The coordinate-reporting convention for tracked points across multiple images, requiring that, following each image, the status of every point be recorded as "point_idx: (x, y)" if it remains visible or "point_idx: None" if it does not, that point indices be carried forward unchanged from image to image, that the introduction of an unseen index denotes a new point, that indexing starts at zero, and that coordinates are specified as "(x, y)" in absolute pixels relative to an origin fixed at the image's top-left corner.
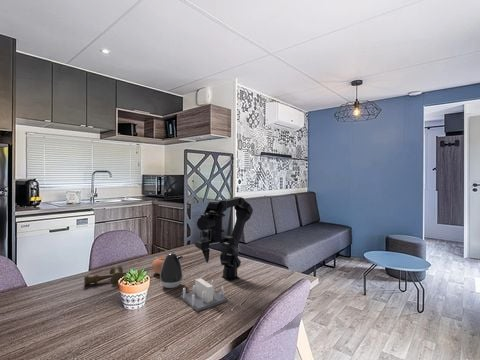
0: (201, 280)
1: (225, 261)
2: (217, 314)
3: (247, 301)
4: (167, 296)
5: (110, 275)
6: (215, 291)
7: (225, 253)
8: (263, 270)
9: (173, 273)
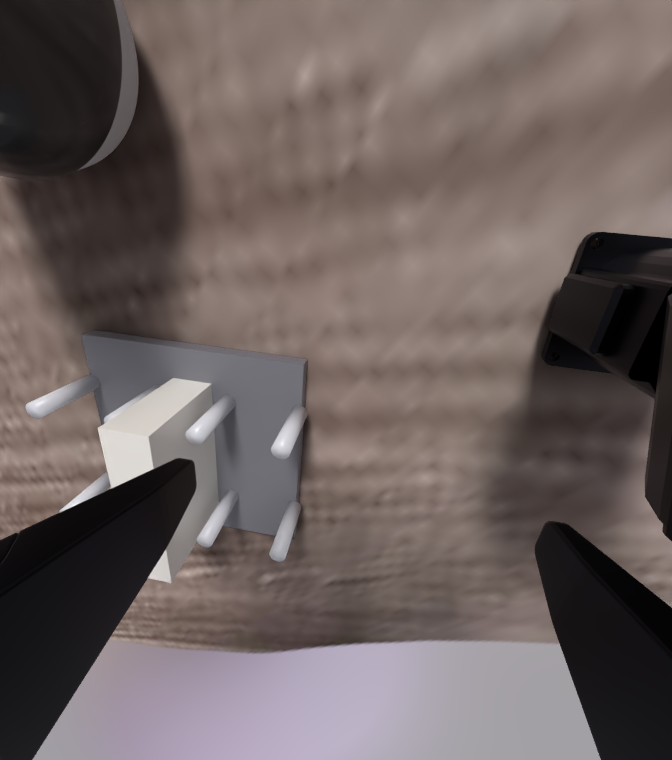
0: (137, 475)
1: (655, 410)
2: (193, 562)
3: (373, 588)
4: (21, 253)
5: None
6: (296, 445)
7: (590, 717)
8: None
9: None
